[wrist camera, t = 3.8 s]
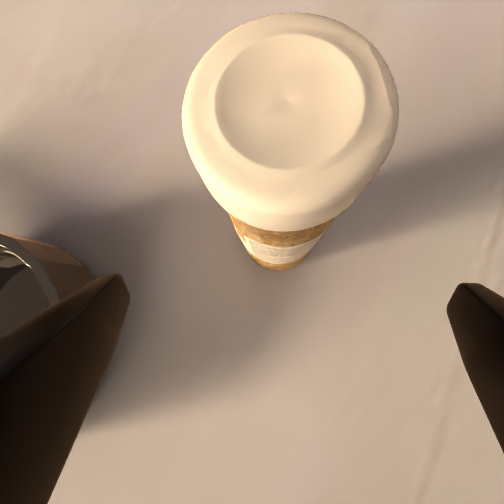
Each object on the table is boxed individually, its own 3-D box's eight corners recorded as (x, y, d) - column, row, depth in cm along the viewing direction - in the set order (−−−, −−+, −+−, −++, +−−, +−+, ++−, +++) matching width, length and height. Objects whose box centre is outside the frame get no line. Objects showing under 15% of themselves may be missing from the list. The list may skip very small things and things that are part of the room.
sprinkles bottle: (249, 200, 20) (197, -7, 6) (317, 208, 19) (416, 5, 6) (238, 267, 19) (155, 194, 6) (308, 277, 18) (398, 225, 5)
